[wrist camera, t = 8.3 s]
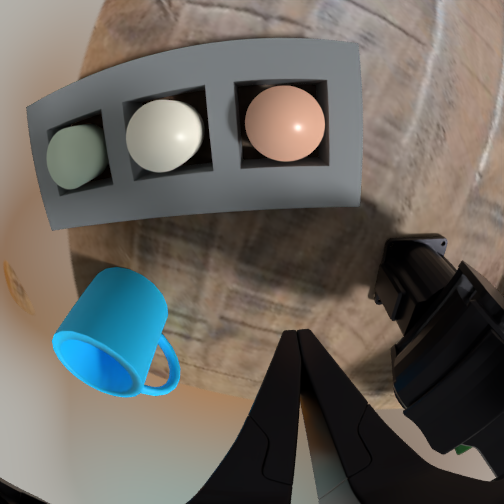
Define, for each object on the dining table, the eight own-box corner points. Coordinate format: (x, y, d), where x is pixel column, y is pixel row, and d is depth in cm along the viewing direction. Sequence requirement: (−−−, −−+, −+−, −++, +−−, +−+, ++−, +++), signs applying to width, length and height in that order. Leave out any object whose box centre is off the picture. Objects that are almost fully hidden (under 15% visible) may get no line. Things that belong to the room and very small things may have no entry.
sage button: (106, 116, 14) (86, 120, 12) (115, 173, 16) (97, 183, 14) (63, 132, 14) (42, 137, 12) (72, 183, 16) (53, 193, 14)
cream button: (201, 95, 14) (192, 93, 12) (207, 159, 16) (200, 167, 13) (139, 107, 14) (121, 108, 12) (147, 167, 16) (132, 177, 14)
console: (342, 52, 13) (358, 43, 10) (345, 192, 18) (359, 206, 15) (50, 103, 14) (26, 107, 12) (71, 215, 19) (51, 230, 17)
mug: (80, 291, 23) (41, 348, 16) (120, 250, 21) (72, 314, 14) (161, 361, 28) (144, 421, 21) (213, 337, 25) (201, 409, 18)
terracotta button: (313, 89, 13) (323, 86, 11) (316, 153, 15) (325, 160, 13) (244, 91, 13) (242, 87, 11) (249, 156, 15) (248, 163, 13)
